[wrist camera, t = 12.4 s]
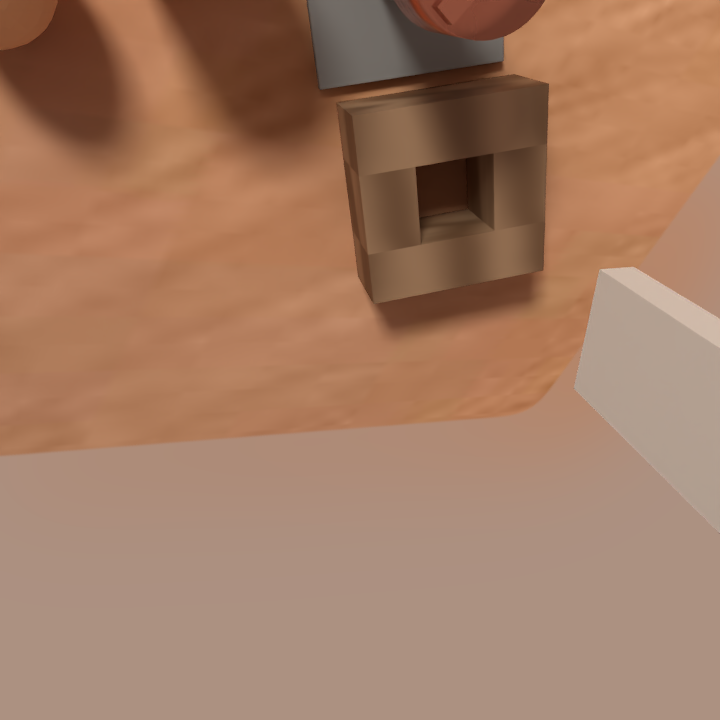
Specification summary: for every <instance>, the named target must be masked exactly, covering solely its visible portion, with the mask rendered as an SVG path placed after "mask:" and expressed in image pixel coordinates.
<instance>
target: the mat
mask: <svg viewBox="0 0 720 720" xmlns="http://www.w3.org/2000/svg"><path fill="white" fill-rule="evenodd" d="M307 7H308V14H309V21H310V29H311V36H312V43H313V50H314V58H315V65H316V72H317V80H318V87H319V89H320V90H322V89H328V88H334V87H341V86H347V85H354V84H360V83H366V82H373V81H379V80H386V79H392V78H398V77H405V76H411V75H417V74H424V73H430V72H437V71H443V70H449V69H456V68H462V67H469V66H475V65H481V64H488V63H494V62H500V61H504V44H503V37H501V38H498V39H494V40H487V41H475V40H470V39H464V38H459V37H454V36H449V35H444V34H439V33H434V32H430V31H427V30H424V29H422V28H421V27H419V26H417V25H416V24H414V23H413V22H411V21H410V20H409V19H408V18H407V17H406V16H405V15H404V14H403V12H402V11H401V10H400V9H399V7H398V6H397V4H396V2H395V1H392V0H307Z"/></svg>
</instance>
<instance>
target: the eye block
mask: <svg viewBox="0 0 720 720" xmlns="http://www.w3.org/2000/svg"><path fill="white" fill-rule="evenodd" d="M548 93H549V84H547V83H544V82H540V81H537V80H533V79H529V78H526V77H522V76H519V75H515V74H513V75H507V76H501V77H495V78H488V79H482V80H476V81H470V82H463V83H457V84H451V85H444V86H438V87H432V88H426V89H419V90H413V91H407V92H401V93H394V94H388V95H382V96H376V97H369V98H363V99H357V100H351V101H344V102H338V103H337V111H338V119H339V127H340V135H341V143H342V151H343V159H344V167H345V175H346V183H347V191H348V199H349V207H350V215H351V223H352V231H353V239H354V246H355V254H356V262H357V270H358V277H359V278H360V280H361V282H362V284H363V286H364V287H365V289H366V291H367V293H368V295H369V296H370V298H371V300H372V302H373V303H374V304H377V303H382V302H387V301H392V300H397V299H402V298H407V297H412V296H417V295H422V294H427V293H432V292H437V291H442V290H447V289H452V288H457V287H462V286H467V285H472V284H477V283H482V282H487V281H492V280H497V279H502V278H507V277H512V276H517V275H522V274H527V273H532V272H537V271H542V270H543V267H544V232H545V197H546V162H547V128H548ZM464 158H466V167H467V198H468V209H465V210H459V211H454V212H449V213H443V214H438V215H432V216H427V217H421V218H419V210H418V196H417V182H416V168H415V167H418V166H424V165H429V164H435V163H441V162H447V161H452V160H458V159H464Z"/></svg>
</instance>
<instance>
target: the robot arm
mask: <svg viewBox="0 0 720 720" xmlns="http://www.w3.org/2000/svg"><path fill="white" fill-rule="evenodd" d="M574 389H575V390H576V391H577V392H578V393H579V394H580V395H581V396H582V397H583V398H584V399H585V400H586V401H587V402H588V403H589V404H590V405H591V406H592V407H593V408H594V409H595V410H596V411H597V412H598V413H599V414H600V415H601V416H602V417H603V418H604V419H605V420H606V421H607V422H608V423H609V424H610V425H611V426H612V427H613V428H614V429H615V430H616V431H617V432H618V433H619V434H620V435H621V436H622V437H623V438H624V439H625V440H626V441H627V442H628V443H629V444H630V445H631V446H632V447H633V448H634V449H635V450H636V451H637V452H638V453H639V454H640V455H641V456H642V457H643V458H644V459H645V460H646V461H647V462H648V463H649V464H650V465H651V466H652V467H653V468H654V469H655V470H656V471H657V472H658V473H659V474H660V475H662V477H663V478H664V479H665V480H666V481H667V482H668V483H669V484H670V485H671V486H672V487H673V488H674V489H675V490H676V491H677V492H678V493H680V495H681V496H682V497H683V498H684V499H685V500H686V501H687V502H688V503H689V504H691V506H692V507H693V508H694V509H695V510H696V511H697V512H699V513H700V514H701V515H702V517H704V519H705V520H706V521H707V522H708V523H709V524H711V526H713V527H714V528H715V529H716V530H717V531H718V532H719V533H720V319H719V318H717V317H716V316H714V315H712V314H711V313H709V312H707V311H706V310H704V309H703V308H701V307H699V306H698V305H696V304H694V303H693V302H691V301H689V300H688V299H686V298H684V297H682V296H681V295H679V294H678V293H676V292H674V291H673V290H671V289H669V288H668V287H666V286H664V285H663V284H661V283H659V282H658V281H656V280H654V279H653V278H651V277H649V276H648V275H646V274H644V273H643V272H641V271H639V270H638V269H636V268H635V267H626V268H611V269H600V270H599V275H598V279H597V284H596V289H595V293H594V298H593V302H592V307H591V312H590V316H589V321H588V326H587V330H586V335H585V339H584V344H583V349H582V354H581V358H580V363H579V367H578V372H577V376H576V381H575V386H574Z"/></svg>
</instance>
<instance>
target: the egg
mask: <svg viewBox="0 0 720 720" xmlns="http://www.w3.org/2000/svg"><path fill="white" fill-rule="evenodd" d="M57 3H58V0H0V50H7V49H13V48H16V47H19V46H22V45H25V44H28V43H29V42H31V41H32V40H34V39H35V38H37V37H38V36H39V35H40V34H41V33H42V32H44V31H45V30H46V28H47V27H48V25H49V23H50V22H51V20H52V18H53V15H54V12H55V9H56V6H57Z"/></svg>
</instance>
